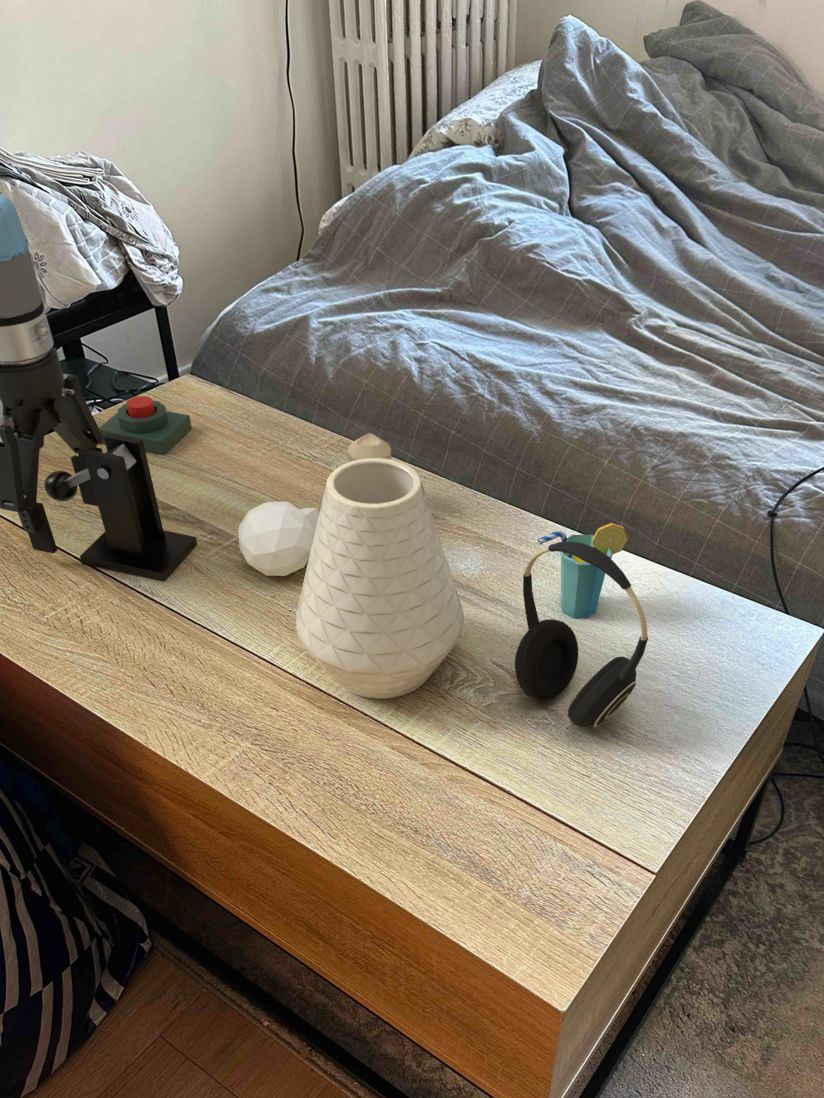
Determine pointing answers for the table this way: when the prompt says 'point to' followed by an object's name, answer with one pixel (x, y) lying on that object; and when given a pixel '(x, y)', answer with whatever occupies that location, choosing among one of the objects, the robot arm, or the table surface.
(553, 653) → the headphones
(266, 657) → the table surface
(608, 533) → the cup
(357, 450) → the candle
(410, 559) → the vase
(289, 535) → the white faceted round piece
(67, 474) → the lever
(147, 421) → the button box
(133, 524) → the bracket
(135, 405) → the button
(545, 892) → the table surface
